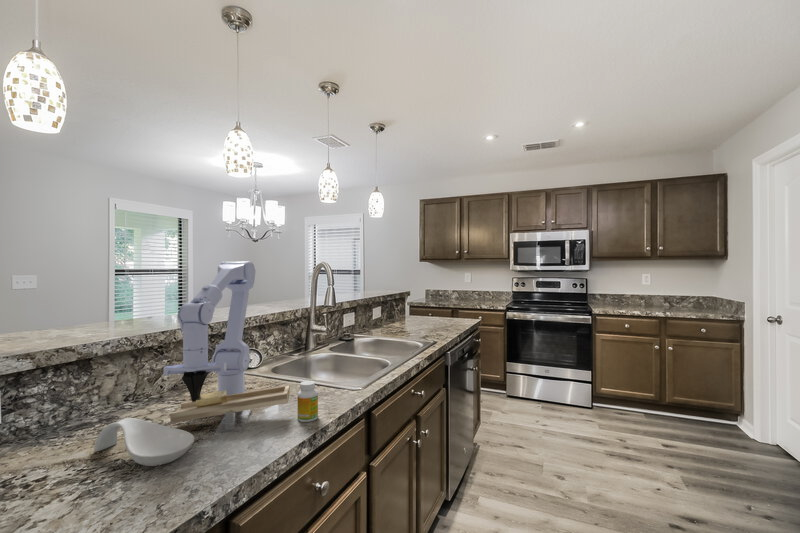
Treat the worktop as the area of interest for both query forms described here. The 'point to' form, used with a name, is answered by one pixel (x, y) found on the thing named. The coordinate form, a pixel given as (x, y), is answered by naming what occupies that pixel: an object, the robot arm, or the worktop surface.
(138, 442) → the spoon rest
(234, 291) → the robot arm
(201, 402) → the block
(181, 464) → the worktop surface
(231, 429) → the stand
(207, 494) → the worktop surface
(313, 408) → the supplement bottle
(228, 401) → the beam
